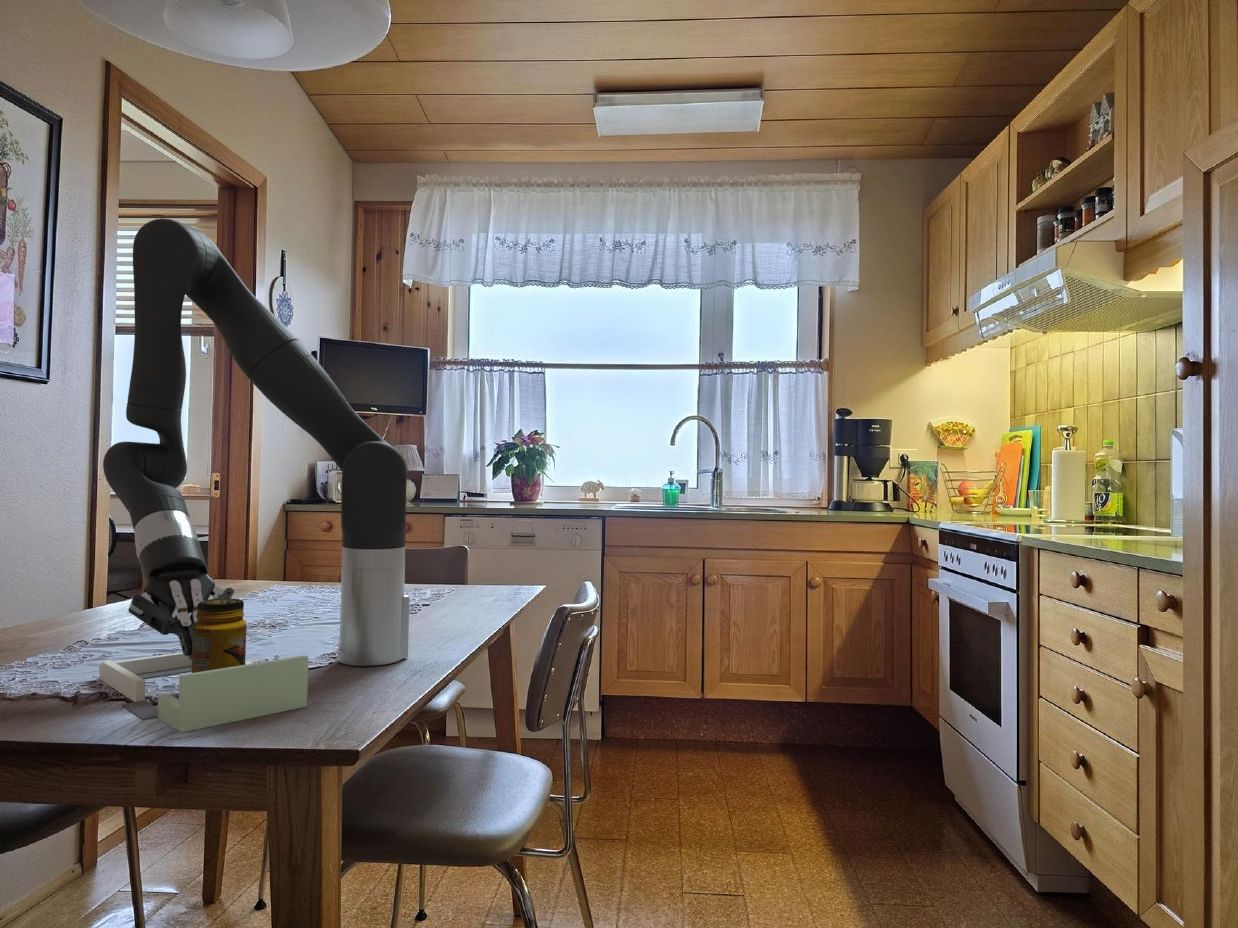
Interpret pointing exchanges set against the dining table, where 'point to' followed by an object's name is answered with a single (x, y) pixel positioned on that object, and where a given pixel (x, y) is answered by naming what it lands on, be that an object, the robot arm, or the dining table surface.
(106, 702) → the dining table surface
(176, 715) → the track
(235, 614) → the condiment
